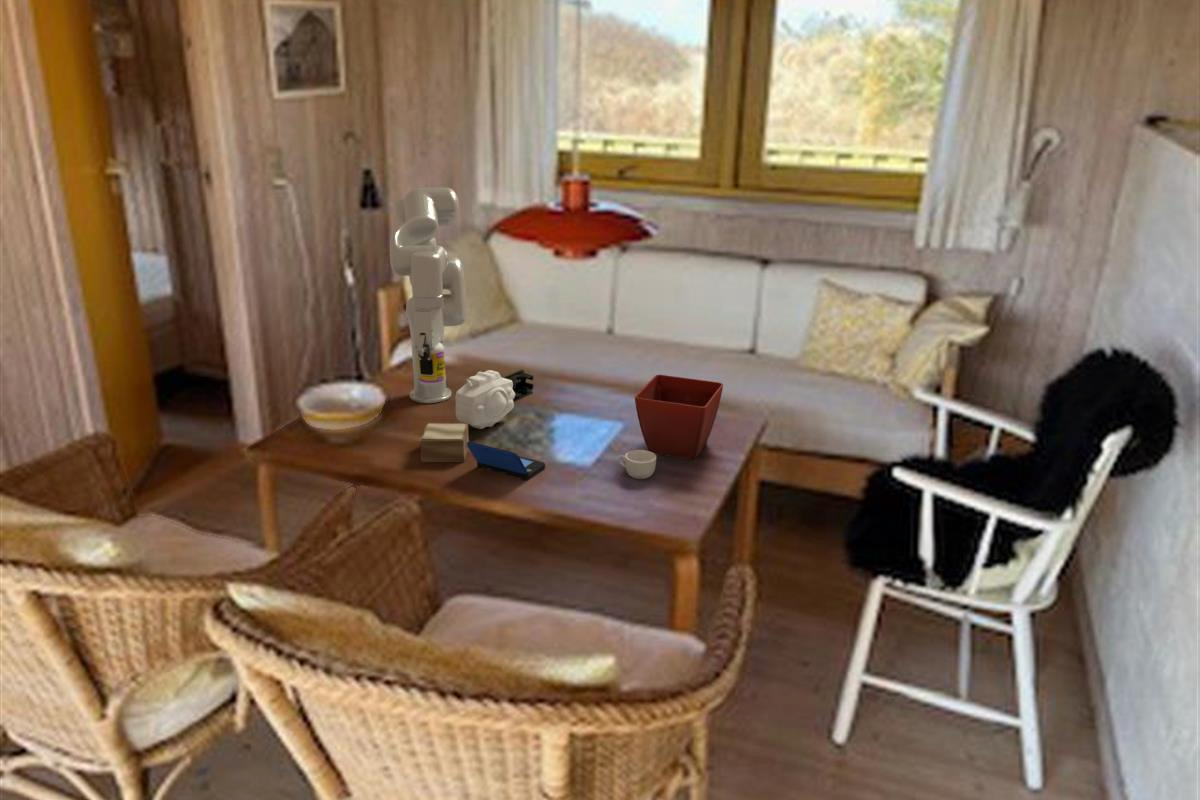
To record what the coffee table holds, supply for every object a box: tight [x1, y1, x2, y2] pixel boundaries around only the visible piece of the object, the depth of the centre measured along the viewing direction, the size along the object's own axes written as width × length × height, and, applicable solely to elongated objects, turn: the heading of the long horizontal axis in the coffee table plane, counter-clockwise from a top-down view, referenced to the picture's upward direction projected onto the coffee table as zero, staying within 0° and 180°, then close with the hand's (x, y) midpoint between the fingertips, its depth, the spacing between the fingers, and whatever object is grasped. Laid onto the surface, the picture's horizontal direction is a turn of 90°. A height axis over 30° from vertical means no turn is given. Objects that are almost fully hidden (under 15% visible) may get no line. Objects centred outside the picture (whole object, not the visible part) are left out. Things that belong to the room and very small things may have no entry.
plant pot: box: [634, 374, 724, 461], centre depth 245 cm, size 19×19×17 cm
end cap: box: [501, 369, 534, 402], centre depth 282 cm, size 10×7×7 cm
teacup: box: [617, 449, 657, 480], centre depth 232 cm, size 10×8×5 cm
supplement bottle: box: [418, 338, 446, 386], centre depth 235 cm, size 7×7×13 cm
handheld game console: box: [467, 441, 546, 481], centre depth 232 cm, size 16×13×9 cm
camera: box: [454, 369, 515, 430], centre depth 258 cm, size 11×18×16 cm, turn 143°
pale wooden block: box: [419, 423, 470, 463], centre depth 242 cm, size 11×11×6 cm
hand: (432, 368), depth 236 cm, fingers closed on supplement bottle, 6 cm apart
